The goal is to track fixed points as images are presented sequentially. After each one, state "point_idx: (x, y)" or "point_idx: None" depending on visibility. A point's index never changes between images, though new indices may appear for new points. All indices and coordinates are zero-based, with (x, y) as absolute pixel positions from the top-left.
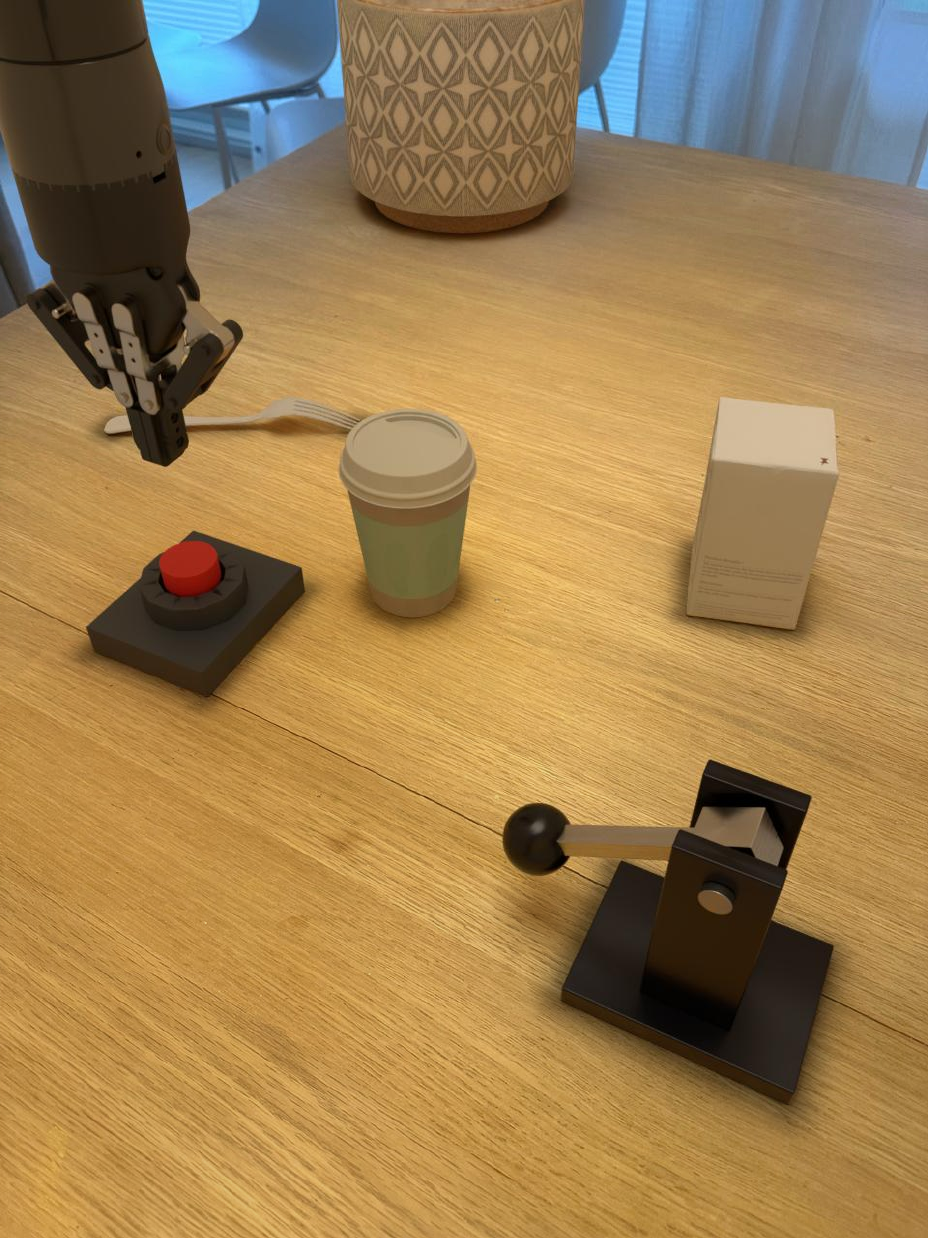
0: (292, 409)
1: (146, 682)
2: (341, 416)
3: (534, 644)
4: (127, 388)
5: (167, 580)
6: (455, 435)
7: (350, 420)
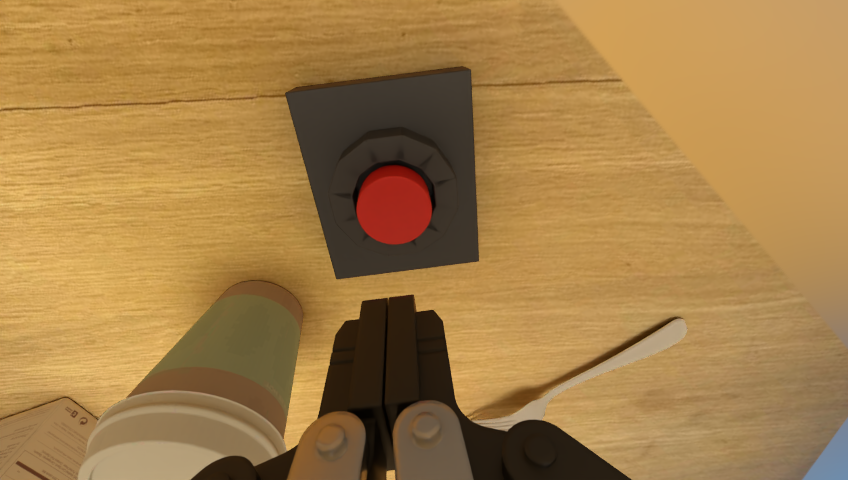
0: (516, 419)
1: (373, 64)
2: None
3: (122, 316)
4: (402, 472)
5: (397, 171)
6: None
7: None
